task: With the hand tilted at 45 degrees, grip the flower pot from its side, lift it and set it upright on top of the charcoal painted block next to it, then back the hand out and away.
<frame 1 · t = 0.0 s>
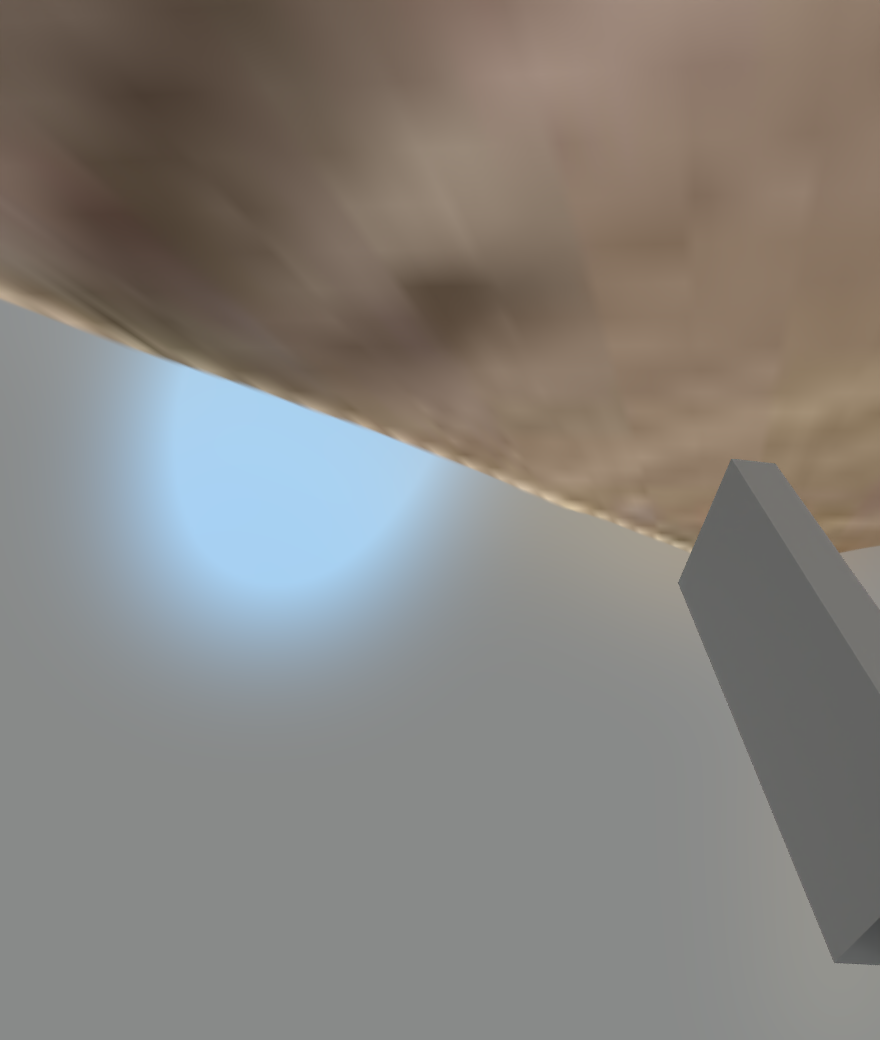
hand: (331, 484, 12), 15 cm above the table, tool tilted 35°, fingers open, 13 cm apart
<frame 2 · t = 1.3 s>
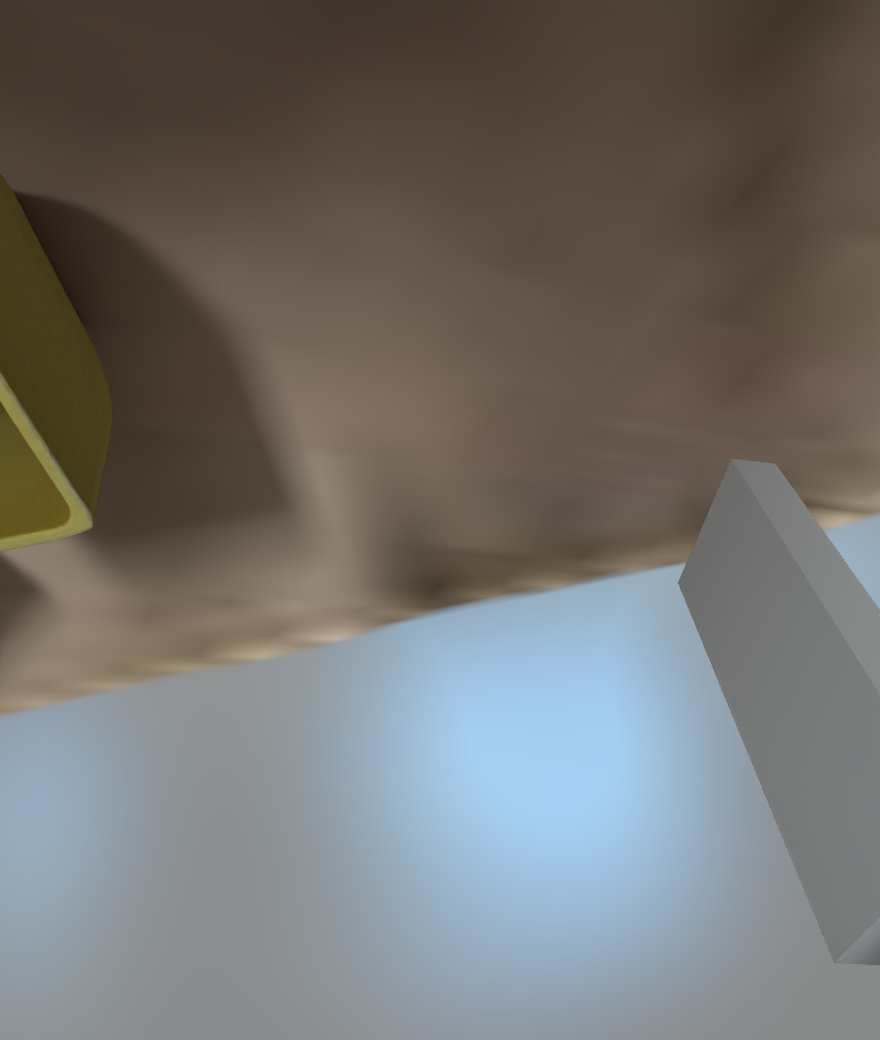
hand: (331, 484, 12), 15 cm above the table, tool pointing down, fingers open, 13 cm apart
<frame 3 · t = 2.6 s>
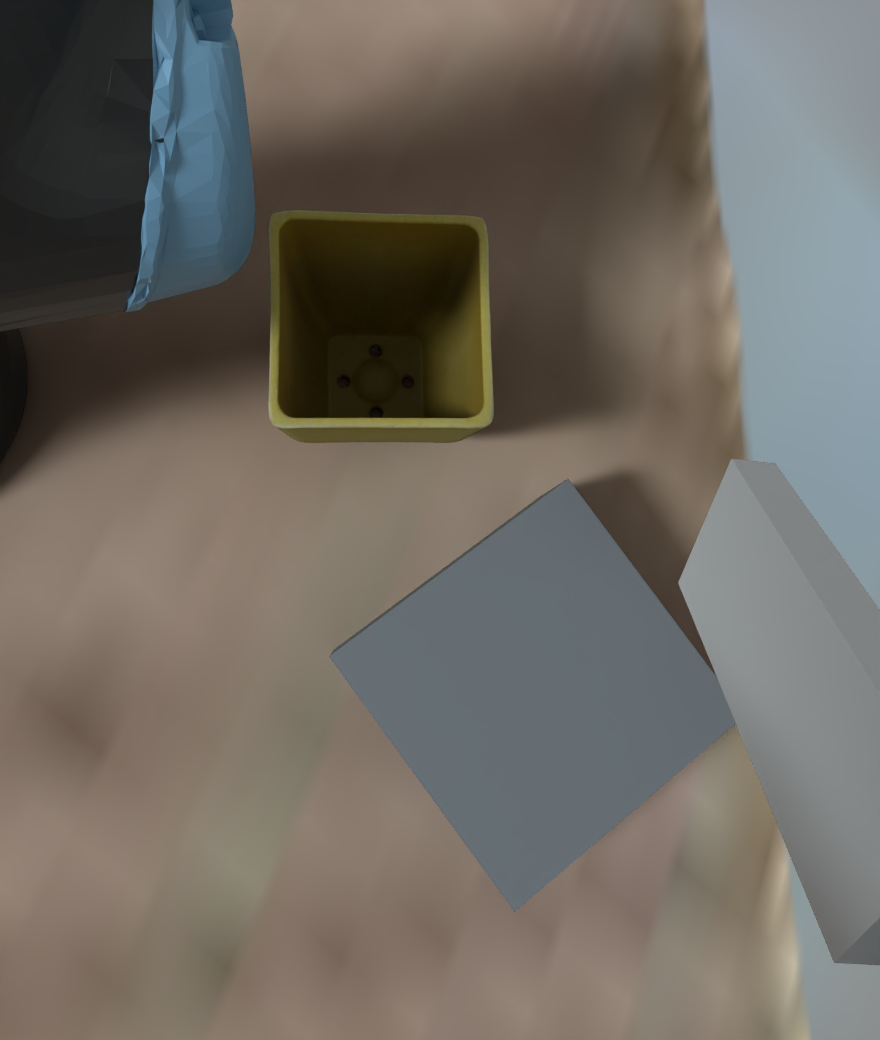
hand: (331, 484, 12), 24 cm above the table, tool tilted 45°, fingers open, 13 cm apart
flower pot: (376, 387, 38), on the table
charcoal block: (517, 676, 36), on the table
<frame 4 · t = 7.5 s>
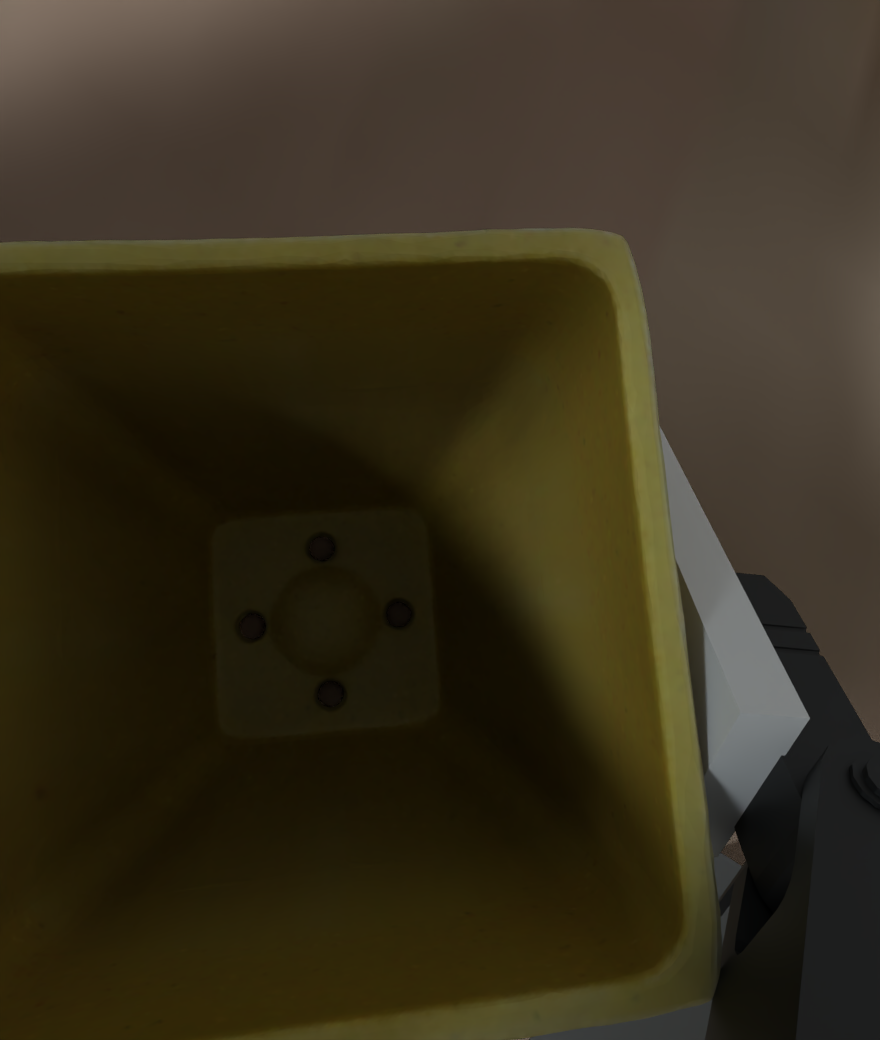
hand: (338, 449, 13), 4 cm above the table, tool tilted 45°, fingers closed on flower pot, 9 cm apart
flower pot: (329, 626, 17), on the table, touching gripper
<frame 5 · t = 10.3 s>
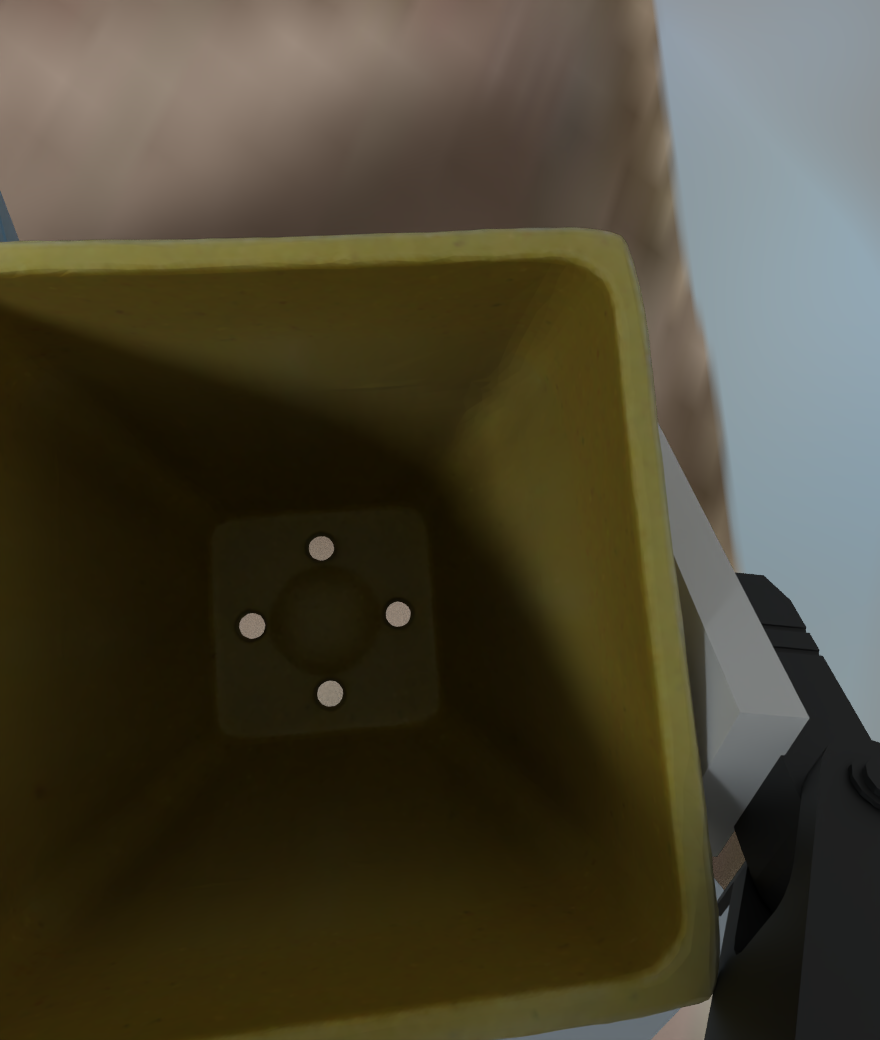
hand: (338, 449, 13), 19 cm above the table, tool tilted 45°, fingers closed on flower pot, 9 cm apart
flower pot: (329, 626, 17), point 15 cm above the table, touching gripper
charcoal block: (482, 868, 30), on the table
when the fingers open (10 cm above the table, at t = 13.4 s): flower pot drops 1 cm, resting on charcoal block.
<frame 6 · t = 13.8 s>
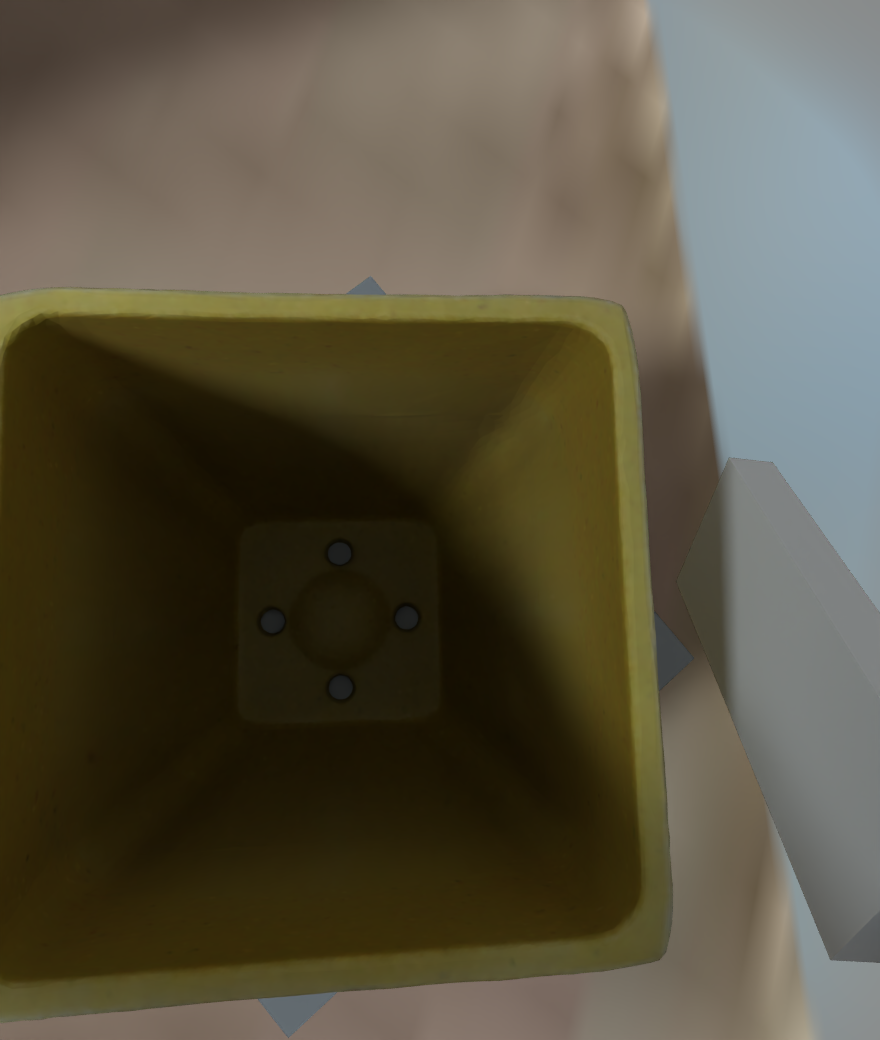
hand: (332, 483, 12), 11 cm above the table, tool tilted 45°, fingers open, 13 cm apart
flower pot: (342, 625, 18), point 5 cm above the table, touching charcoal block
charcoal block: (339, 627, 23), on the table
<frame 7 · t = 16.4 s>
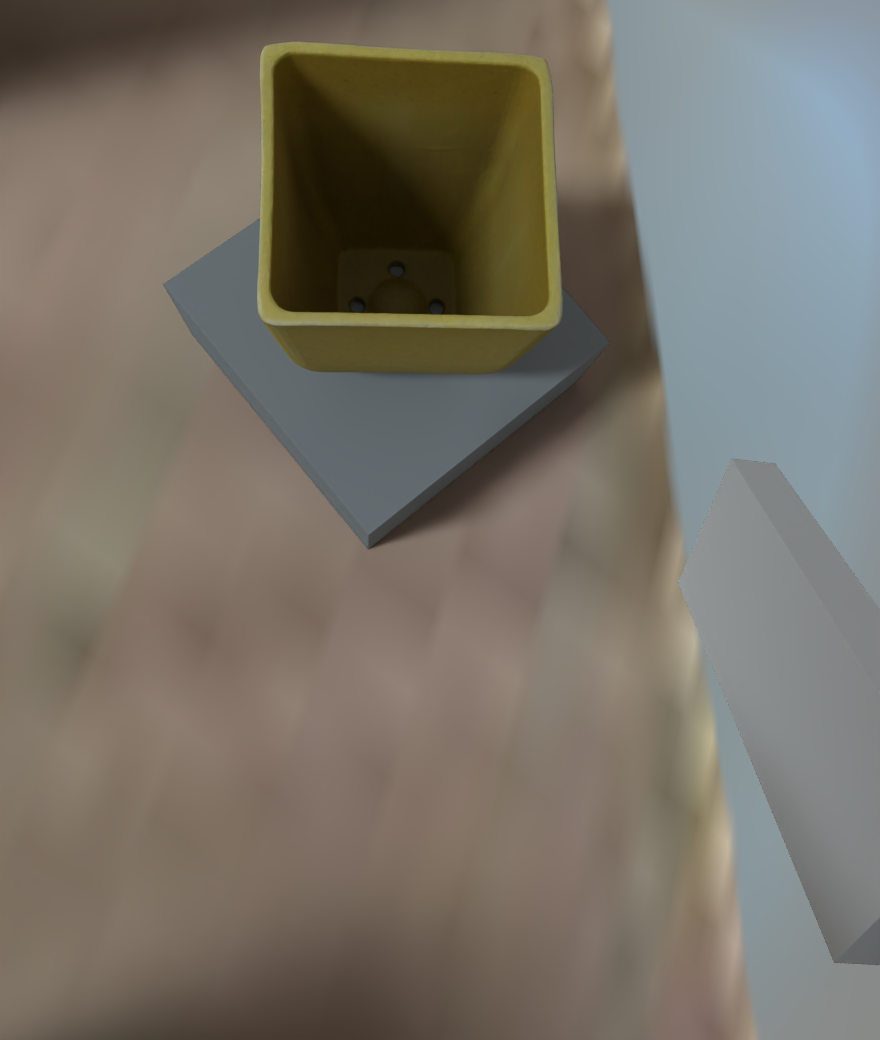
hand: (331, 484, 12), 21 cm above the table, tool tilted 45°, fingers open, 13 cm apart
flower pot: (397, 315, 30), point 5 cm above the table, touching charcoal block
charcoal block: (388, 358, 35), on the table
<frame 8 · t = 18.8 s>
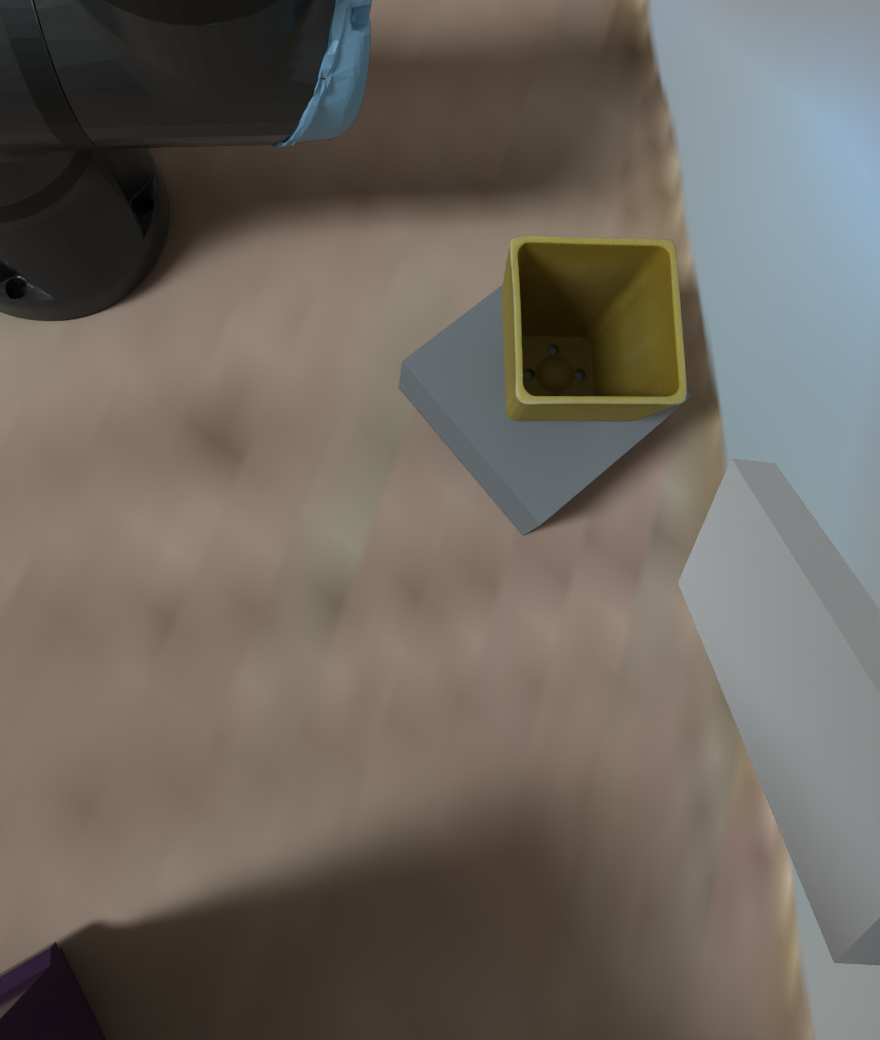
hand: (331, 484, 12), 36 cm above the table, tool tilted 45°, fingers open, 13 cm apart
flower pot: (553, 379, 46), point 5 cm above the table, touching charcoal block
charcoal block: (532, 403, 50), on the table
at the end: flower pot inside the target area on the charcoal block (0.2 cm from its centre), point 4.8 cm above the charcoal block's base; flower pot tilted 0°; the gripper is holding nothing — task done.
